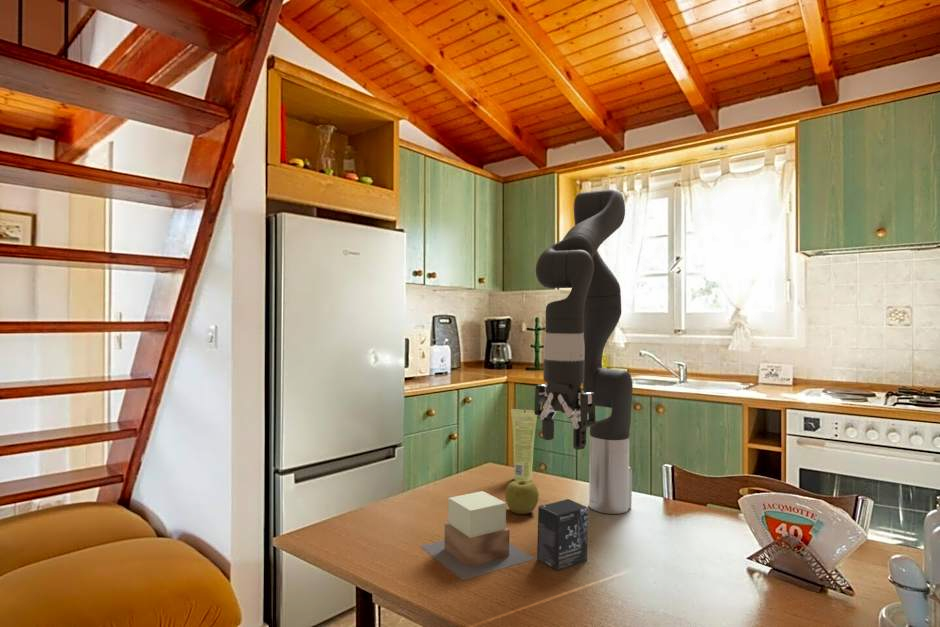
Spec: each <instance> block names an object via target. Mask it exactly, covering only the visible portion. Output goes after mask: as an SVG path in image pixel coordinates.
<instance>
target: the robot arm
mask: <svg viewBox="0 0 940 627" xmlns="http://www.w3.org/2000/svg"><path fill="white" fill-rule="evenodd" d="M625 216H626V204H625V199H624V196H623V194H622V193H621V191H619V190H618V189H613V188H610V189H609V188H608V189H607V188H606V189H600V190H593V191H590V190H589V191H583V192H579V193H577V195H576V196H575V198H574V203H573V218H574V226H572V227H571V228H570V229H569V230H568V231H567V233H566V234H565V235H564V236H563V238H562V239H561V240H560V241H557V242H556V243H554V244H553V245H551V246H549V247H547V248H546V249H545V250H544V251H543V252H542V253H541V254H540V255H539V258H538V259H537V261H536V265H535V275H536V276H535V277H536V279H537V281H538V282H539V284H541V285H542V286H543V287H544V288H547V289H570V292H569V294H568V296H566V297H565V298H563V299H560V300H553V301H551V302H549V303H547V305H546V306H545V314H544V315H545V317H544V318H545V333H544V340H543V341H544V342H543V381H544V382H545V384H536V385H535V388H534V389H535V390H534V409H533V410H534V413H535V415H537V416H539V419H540V420H541V430H542V431H541V433H542V439H543V440H545V441H550V440H551V441H553V439H555V438H554V437H555V420H554V417H555V415H556V414H557V413H558V412H561V413H564V414H565V415H566V417H567V418H569V419H570V422H571V423H572V425H573V427H574V428H573V429H572V431H573V432H572V434H573V437H572V438H573V441H572V442H573V443H572V444H573V445H572V447H573V449H575V450H578V451H579V450H584V449H585V448H586V446H587V429H588V428H589V469H588V470H589V471H588V472H589V478H588V480H589V482H588V483H589V484H588V485H589V487H588V490H589V491H588V494H589V495H588V506H589V507H588V508H590V509H591V510H593V511H596V512H597V513H602V514H608V515H609V514H610V515H620V514H624V513H627V512H628V511H629V509H631V508H632V504H633V503H632V494H633V492H632V489H633V488H632V487H633V486H632V485H633V483H632V482H633V480H632V479H633V478H632V477H633V476H632V475H633V474H632V473H633V471H632V467H630V432H631V431H630V429H631V424H632V405H633V404H632V403H633V389H634V388H633V379H632V375H631V374H630V372H629V371H627V370H625V369H618V368H617V369H615V368H614V369H613V368H603V361H602V360H603V355H604V354H603V353H604V349H605V346H606V345H607V342H608V340H609V339H610V337H611V335H612V334H613V332H614V330H615V329H616V327H617V325H618V323H619V321H620V319H621V316H622V295H621V286H620V283H619V281H618V279H617V278H616V276H615V274H613V272H612V271H611V269H610V268H609V266H608V265H607V264H606V262H605V261H604V260H603V258H602V257H601V254H600V253H599V251H598V250H599V247H600V246H601V245H602V244H603V243H604V242H606V240H607V239H608V238H609V237H610V236H612V235H613V234H614V233H615V232H616V231H617V230H618V229H619V228H621V226H622V225H623V222H624V220H625ZM581 387H582V388H581ZM582 390H583V391H582ZM541 404H542V406H541ZM596 407H603V408H610V409H611V413H610V416H608V417H606V418H603V419H598V420H596Z"/></svg>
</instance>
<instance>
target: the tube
mask: <svg viewBox="0 0 940 627" xmlns="http://www.w3.org/2000/svg"><path fill="white" fill-rule="evenodd" d="M510 416H511V424H512V440H513V442H512V444H513V479H514V481H516V480H527V481H530V482H531V481H532V475H533V462H534V461H533V459H534V448H535V445H534V444H535V437H536V436H535V435H536V434H535V433H536V427H537V419H538V415H535V413H534V409H518V408H517V409H515V408H511V409H510Z"/></svg>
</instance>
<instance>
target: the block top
mask: <svg viewBox="0 0 940 627" xmlns="http://www.w3.org/2000/svg"><path fill="white" fill-rule="evenodd" d="M447 500H448V502H447V503H448V507H447V508H448V511H447V512H448V513H447V517H448V519H447V523H448V524H450V525H451V526H453V527H454V528H456V529H457V530H459V531H460V532H462V533H463V534H465V535H466V536H468V537H469V538H473V537H477V536H481V535H485V534H489V533H493V532H497V531H501V530H505V529H506V528H507V502H505V501H503V500H501V499H499V498H497V497H496V496H493V495H491V494H490V493H487V492H485V491H483V490H481V491H475V492H472V493H466V494H461V495H456V496H452V497H448V499H447Z"/></svg>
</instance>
